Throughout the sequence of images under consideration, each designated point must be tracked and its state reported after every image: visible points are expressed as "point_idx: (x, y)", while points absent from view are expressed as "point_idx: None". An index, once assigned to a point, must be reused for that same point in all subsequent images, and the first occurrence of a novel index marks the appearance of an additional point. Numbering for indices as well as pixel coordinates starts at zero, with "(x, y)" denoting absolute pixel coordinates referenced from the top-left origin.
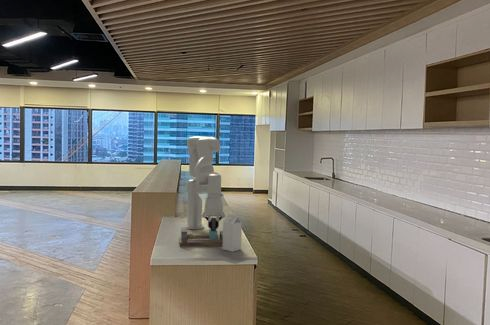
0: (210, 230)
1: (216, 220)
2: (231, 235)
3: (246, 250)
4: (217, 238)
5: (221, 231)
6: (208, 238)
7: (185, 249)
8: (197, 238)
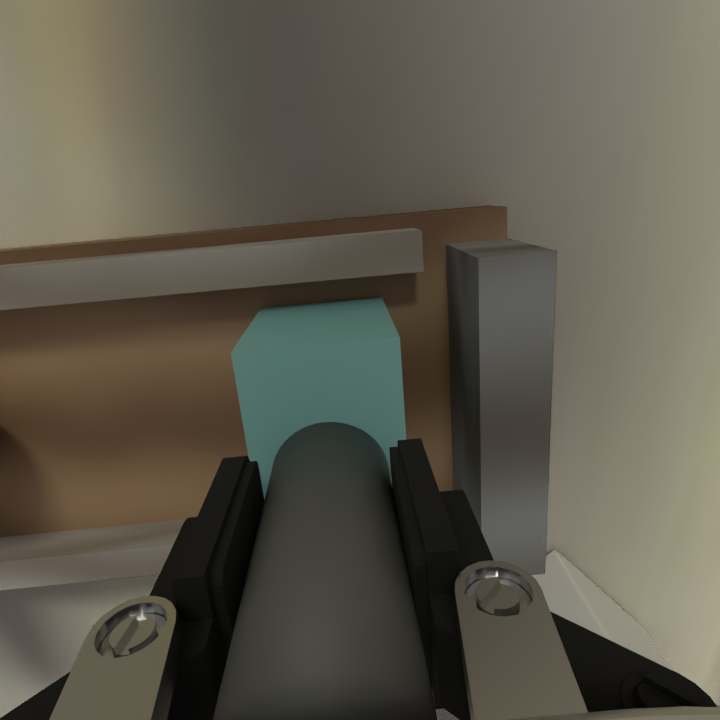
0: (268, 478)
1: (436, 655)
2: None
3: (692, 650)
4: (405, 308)
5: (507, 329)
6: (253, 315)
7: (20, 655)
8: (64, 322)
